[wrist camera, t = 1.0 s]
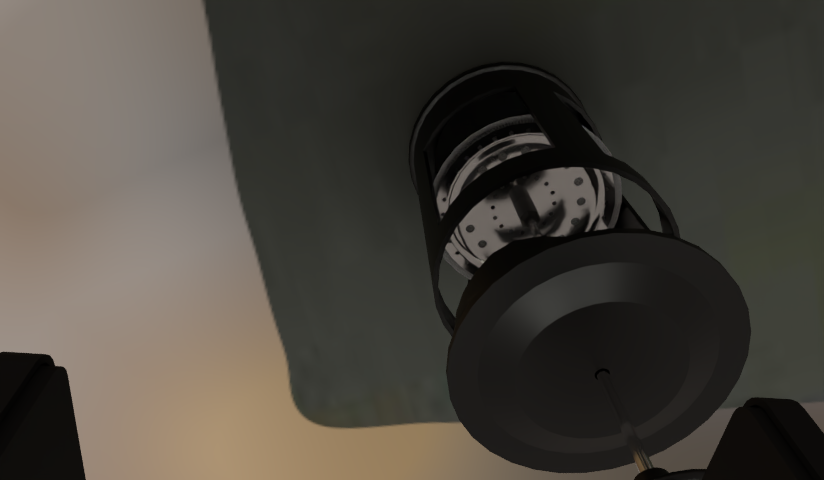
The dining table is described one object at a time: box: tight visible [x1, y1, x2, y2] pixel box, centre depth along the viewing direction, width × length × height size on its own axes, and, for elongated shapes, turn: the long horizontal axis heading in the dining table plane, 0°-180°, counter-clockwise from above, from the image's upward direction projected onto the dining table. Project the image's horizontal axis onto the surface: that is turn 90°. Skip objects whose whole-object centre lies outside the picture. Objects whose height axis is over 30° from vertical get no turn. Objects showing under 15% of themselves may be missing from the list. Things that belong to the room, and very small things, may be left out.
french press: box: [409, 63, 751, 480], centre depth 24 cm, size 12×9×23 cm
